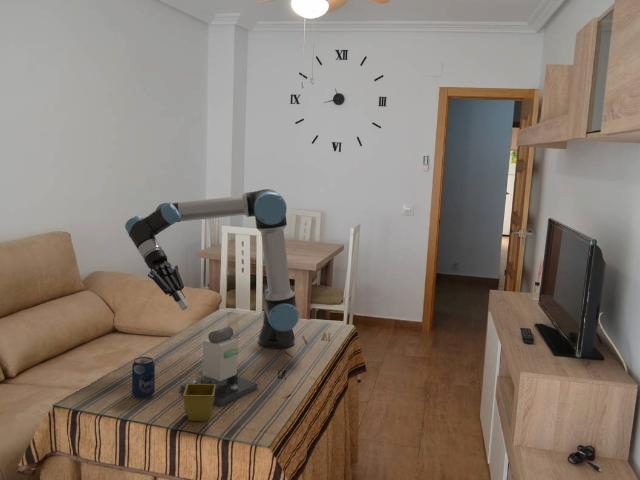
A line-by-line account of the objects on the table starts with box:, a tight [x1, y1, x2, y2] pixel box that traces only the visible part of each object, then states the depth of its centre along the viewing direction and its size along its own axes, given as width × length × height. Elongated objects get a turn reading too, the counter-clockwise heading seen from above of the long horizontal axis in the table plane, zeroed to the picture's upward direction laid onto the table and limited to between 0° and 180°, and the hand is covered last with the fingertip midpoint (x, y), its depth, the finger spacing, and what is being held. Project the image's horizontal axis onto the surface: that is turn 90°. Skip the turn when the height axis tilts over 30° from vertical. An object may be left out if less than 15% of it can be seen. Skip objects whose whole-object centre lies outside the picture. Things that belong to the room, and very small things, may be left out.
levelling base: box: [179, 368, 259, 408], centre depth 200 cm, size 18×18×6 cm
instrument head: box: [202, 326, 239, 384], centre depth 198 cm, size 10×10×18 cm
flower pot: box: [182, 384, 216, 422], centre depth 179 cm, size 9×9×9 cm
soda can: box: [131, 356, 156, 400], centre depth 192 cm, size 7×7×12 cm
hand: (185, 307), depth 211 cm, fingers closed
